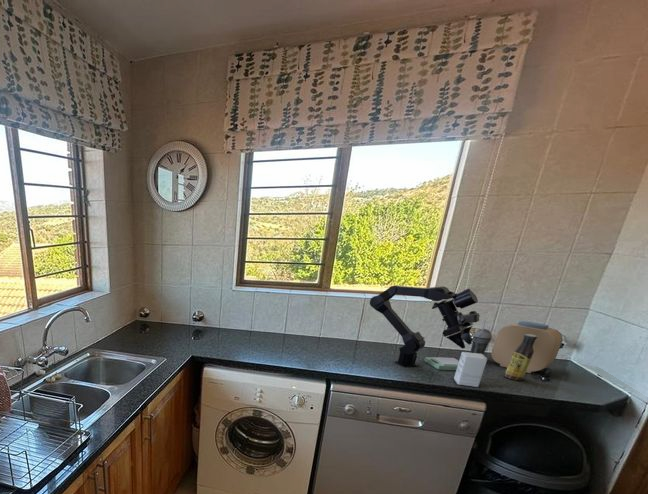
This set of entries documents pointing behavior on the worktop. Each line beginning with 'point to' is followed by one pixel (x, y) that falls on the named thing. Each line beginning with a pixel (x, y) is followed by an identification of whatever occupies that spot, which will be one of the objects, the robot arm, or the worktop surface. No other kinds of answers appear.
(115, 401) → the worktop surface
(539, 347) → the beige toaster
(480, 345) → the beverage cup
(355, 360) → the worktop surface
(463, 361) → the white packaging box
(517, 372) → the sauce bottle
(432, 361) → the kitchen scale
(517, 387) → the worktop surface
